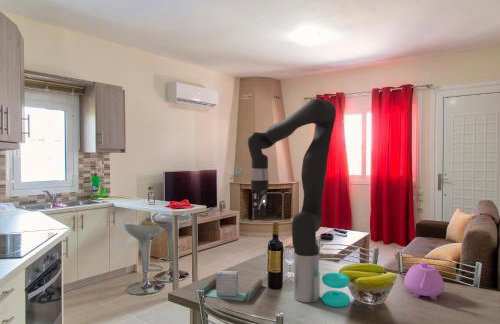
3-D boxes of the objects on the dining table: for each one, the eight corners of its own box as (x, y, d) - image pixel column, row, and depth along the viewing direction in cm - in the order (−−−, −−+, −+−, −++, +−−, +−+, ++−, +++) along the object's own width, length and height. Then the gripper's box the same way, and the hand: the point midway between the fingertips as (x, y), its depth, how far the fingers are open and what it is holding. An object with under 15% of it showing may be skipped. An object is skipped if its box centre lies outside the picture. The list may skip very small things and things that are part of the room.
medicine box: (238, 292, 144) (238, 271, 143) (236, 297, 139) (236, 274, 139) (218, 291, 145) (218, 270, 145) (216, 296, 140) (216, 273, 140)
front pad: (249, 294, 142) (249, 293, 142) (243, 301, 136) (243, 300, 136) (211, 289, 147) (211, 289, 147) (204, 296, 141) (204, 295, 141)
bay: (262, 285, 152) (262, 279, 152) (248, 301, 135) (248, 295, 135) (217, 280, 158) (217, 274, 158) (199, 295, 141) (199, 289, 141)
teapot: (449, 307, 130) (449, 272, 129) (406, 302, 134) (406, 268, 134) (440, 288, 149) (440, 258, 148) (402, 284, 153) (402, 255, 153)
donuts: (355, 278, 131) (331, 281, 128) (355, 306, 131) (331, 310, 128) (339, 270, 140) (316, 273, 137) (339, 296, 141) (316, 299, 137)
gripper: (263, 180, 148) (263, 220, 148) (272, 178, 162) (272, 214, 162) (246, 179, 151) (246, 219, 151) (256, 178, 164) (256, 213, 164)
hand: (259, 216), depth 156 cm, fingers open, 8 cm apart
